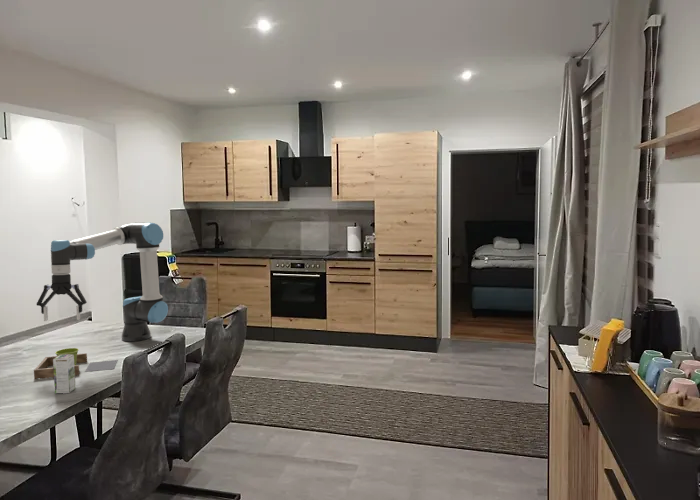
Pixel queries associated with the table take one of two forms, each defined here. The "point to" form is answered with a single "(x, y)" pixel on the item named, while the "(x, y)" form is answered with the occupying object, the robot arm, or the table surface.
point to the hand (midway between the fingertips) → (62, 320)
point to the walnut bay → (45, 372)
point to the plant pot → (68, 351)
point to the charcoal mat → (101, 365)
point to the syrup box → (64, 373)
